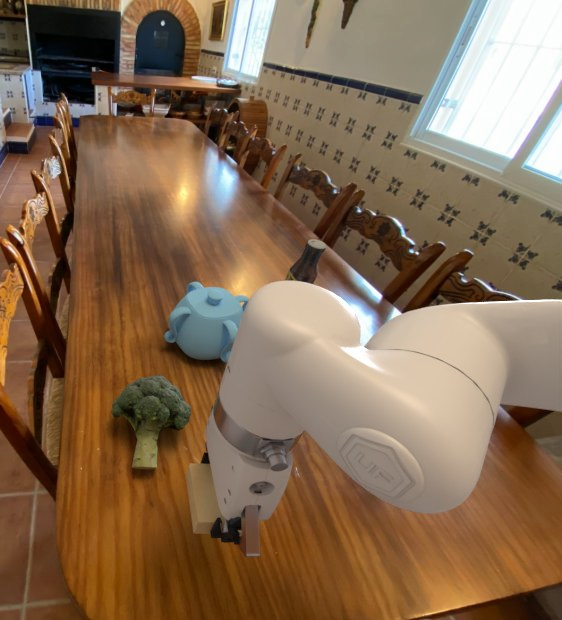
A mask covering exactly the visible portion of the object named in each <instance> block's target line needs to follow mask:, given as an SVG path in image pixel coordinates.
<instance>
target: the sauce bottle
mask: <svg viewBox="0 0 562 620" xmlns="http://www.w3.org/2000/svg"><path fill="white" fill-rule="evenodd" d="M326 250H327V244H326V243H325V242H323V241H321V240H320V239H315V238H312V239H311V238H310V239H309V240H307V241H306V244H305V245H304V249H303V252H302V254H301V255H300V257H299V258H298V259H297V260H296V261H295V262H294V263H293V264H292V265H291V266H290V267H289V269H288V271H287V273H286V276H285V277H284V278H285V279H284V280H283V281H286V280H287V281H300V282H306V283H310V284H313V285H315V281H316V280H317V278H318V276H319V265H318V264H319V262H320V259H321V258H322V255H323V253H325V251H326Z"/></svg>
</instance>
